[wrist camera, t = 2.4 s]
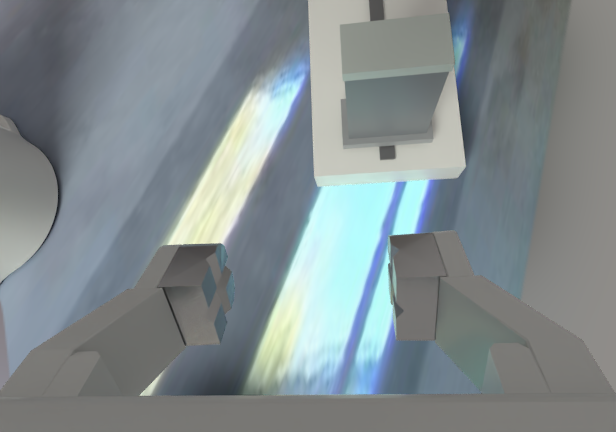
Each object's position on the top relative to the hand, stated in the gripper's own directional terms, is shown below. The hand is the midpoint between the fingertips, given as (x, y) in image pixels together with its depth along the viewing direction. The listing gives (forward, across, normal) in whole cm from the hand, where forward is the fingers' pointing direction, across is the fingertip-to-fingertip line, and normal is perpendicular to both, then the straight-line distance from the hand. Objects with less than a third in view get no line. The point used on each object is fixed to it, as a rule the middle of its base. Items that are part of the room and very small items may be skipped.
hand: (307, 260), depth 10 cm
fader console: (+34, -4, +2) cm, 34 cm away
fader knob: (+25, -4, +6) cm, 26 cm away
